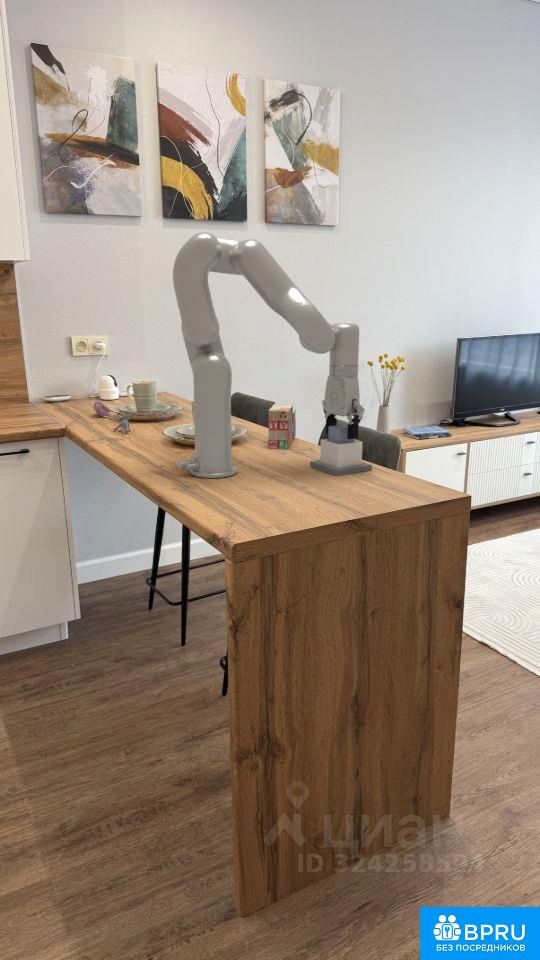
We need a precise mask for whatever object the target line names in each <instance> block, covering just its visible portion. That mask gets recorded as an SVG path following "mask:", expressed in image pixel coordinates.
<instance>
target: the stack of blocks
mask: <svg viewBox="0 0 540 960" xmlns="http://www.w3.org/2000/svg"><path fill="white" fill-rule="evenodd" d="M293 406H294V405H293V403H290V404H288V403H287V404H286V403H285V404H284V403H274V404H273V405H272V406H271V407H270V408H269V409H268V442H267V443H268V450H289V449H290V448H291V446H292V443H293V441H294V440H295V438H296V433H297V432H296V429H297V428H296V427H297V424H296V423H297V422H296V421H297V419H296V408H295V409H294V408H293Z"/></svg>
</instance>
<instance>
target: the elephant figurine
mask: <svg viewBox="0 0 540 960" xmlns="http://www.w3.org/2000/svg"><path fill="white" fill-rule="evenodd" d="M135 415H136V413H135V412H133V413H130V416H129V417H127V418H126V416H127V414H126V413H124V414H123V415H120V414H119V415H117V420H116V422H118V423H120V424H119V425H117V426H116V427H112V428H113V429H112V430H116V431H117V430H118V429H119V428H121V431H122V432H121V433H122V434H123V433H126V434H127V432H130V431H131V429H130V422H129V420H131V418H133V417H135Z"/></svg>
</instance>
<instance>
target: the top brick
mask: <svg viewBox="0 0 540 960" xmlns="http://www.w3.org/2000/svg"><path fill="white" fill-rule="evenodd" d="M347 430H348V424H337V425H335V426H329V433H327V434H328V436H327V437H328V438H327V439H328V441H329V442H332V443H336V444H346V443H354V440H355V439H347Z"/></svg>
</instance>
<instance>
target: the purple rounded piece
mask: <svg viewBox="0 0 540 960" xmlns="http://www.w3.org/2000/svg"><path fill="white" fill-rule="evenodd" d="M93 404H94V405H93V406H92V407H93V410H94V412H95V413H96V414H97V416H98V415H99V417H100V416H109V417H110V414H108V412H111V413H112V411H111V409H110V408H109V407H108V406H106V405H105V404H104V403H103V402H101V401H95V402H94V403H93Z"/></svg>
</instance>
